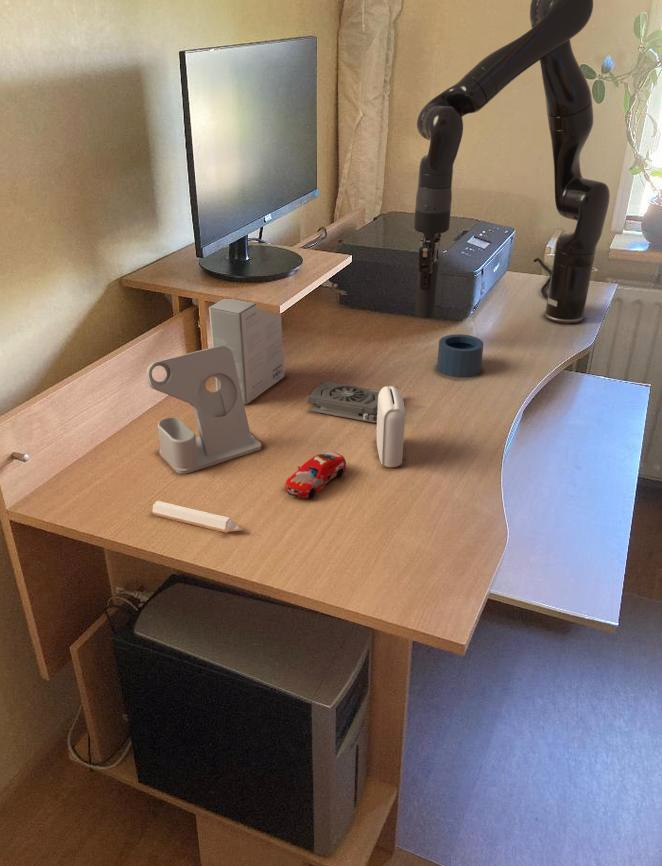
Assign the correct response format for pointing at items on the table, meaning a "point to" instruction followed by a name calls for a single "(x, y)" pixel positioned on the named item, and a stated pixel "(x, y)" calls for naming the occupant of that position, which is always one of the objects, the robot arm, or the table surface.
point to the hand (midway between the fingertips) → (427, 285)
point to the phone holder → (203, 411)
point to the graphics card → (345, 401)
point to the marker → (194, 517)
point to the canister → (426, 295)
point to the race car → (315, 474)
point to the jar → (460, 355)
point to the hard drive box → (249, 344)
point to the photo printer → (390, 426)
